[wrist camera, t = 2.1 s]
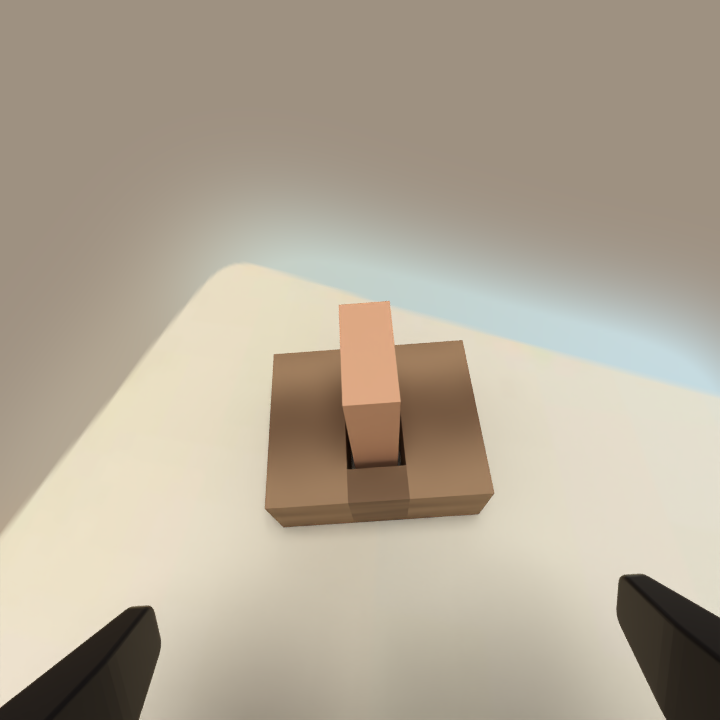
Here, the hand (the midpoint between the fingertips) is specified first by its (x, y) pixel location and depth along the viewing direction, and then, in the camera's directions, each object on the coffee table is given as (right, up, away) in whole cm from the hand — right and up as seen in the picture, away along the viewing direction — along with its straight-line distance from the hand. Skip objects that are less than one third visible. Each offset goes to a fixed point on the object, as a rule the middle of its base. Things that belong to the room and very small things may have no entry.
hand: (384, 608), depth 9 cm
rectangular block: (0, 0, +16) cm, 16 cm away
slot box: (0, 0, +16) cm, 16 cm away
